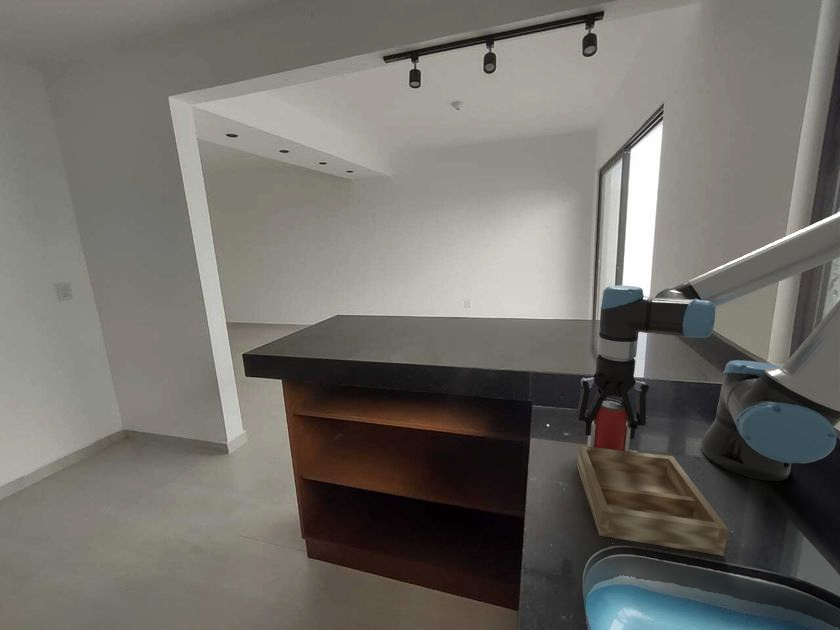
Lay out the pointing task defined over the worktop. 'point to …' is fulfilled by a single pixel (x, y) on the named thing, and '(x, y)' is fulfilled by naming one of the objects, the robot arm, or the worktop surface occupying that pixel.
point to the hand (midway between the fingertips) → (607, 448)
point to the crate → (648, 501)
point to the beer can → (610, 425)
